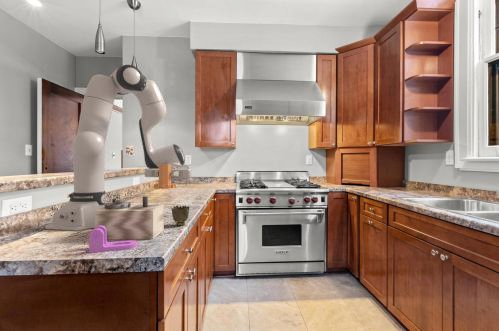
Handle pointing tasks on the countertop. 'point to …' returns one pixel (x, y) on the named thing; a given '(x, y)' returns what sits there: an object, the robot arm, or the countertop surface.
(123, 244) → the bracket
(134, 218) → the gearbox
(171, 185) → the orange gear
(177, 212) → the cup
